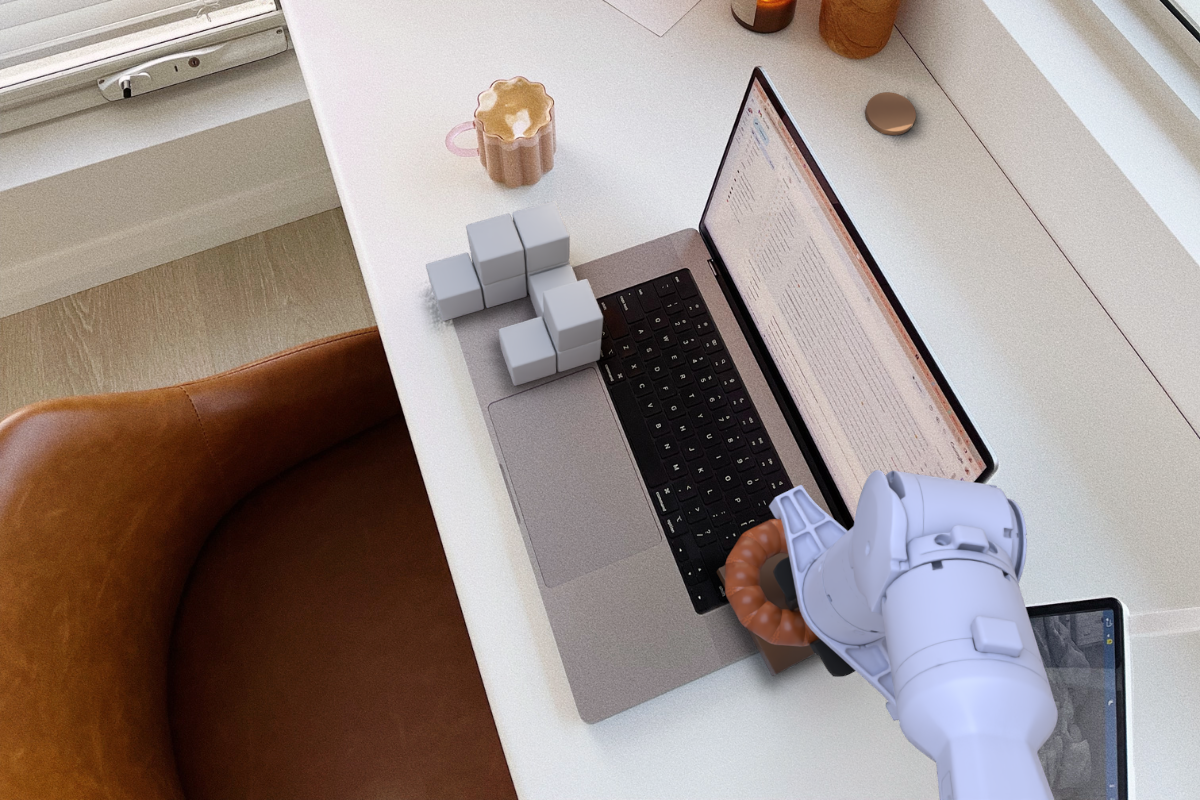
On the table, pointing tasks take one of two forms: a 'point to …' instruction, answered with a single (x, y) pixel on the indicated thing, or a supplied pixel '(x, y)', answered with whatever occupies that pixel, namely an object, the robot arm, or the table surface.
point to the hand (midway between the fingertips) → (812, 621)
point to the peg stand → (780, 654)
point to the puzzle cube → (524, 290)
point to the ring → (749, 595)
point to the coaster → (890, 113)
